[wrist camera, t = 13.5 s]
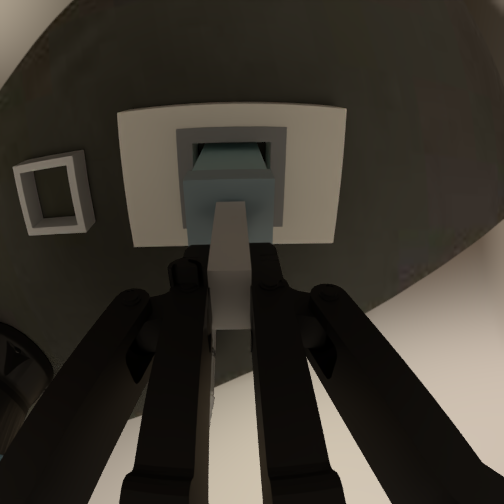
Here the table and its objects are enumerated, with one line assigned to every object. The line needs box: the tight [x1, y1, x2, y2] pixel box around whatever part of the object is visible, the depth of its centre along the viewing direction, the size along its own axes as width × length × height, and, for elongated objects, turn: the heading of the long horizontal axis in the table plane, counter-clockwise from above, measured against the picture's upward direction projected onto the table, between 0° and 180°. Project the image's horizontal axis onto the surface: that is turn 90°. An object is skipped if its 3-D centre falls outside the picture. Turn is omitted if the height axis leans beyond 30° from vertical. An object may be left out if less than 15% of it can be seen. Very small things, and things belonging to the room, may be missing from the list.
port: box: [117, 102, 347, 247], centre depth 26 cm, size 18×12×4 cm, turn 90°
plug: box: [183, 142, 275, 246], centre depth 22 cm, size 5×5×12 cm
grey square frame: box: [13, 150, 96, 236], centre depth 26 cm, size 8×8×2 cm
